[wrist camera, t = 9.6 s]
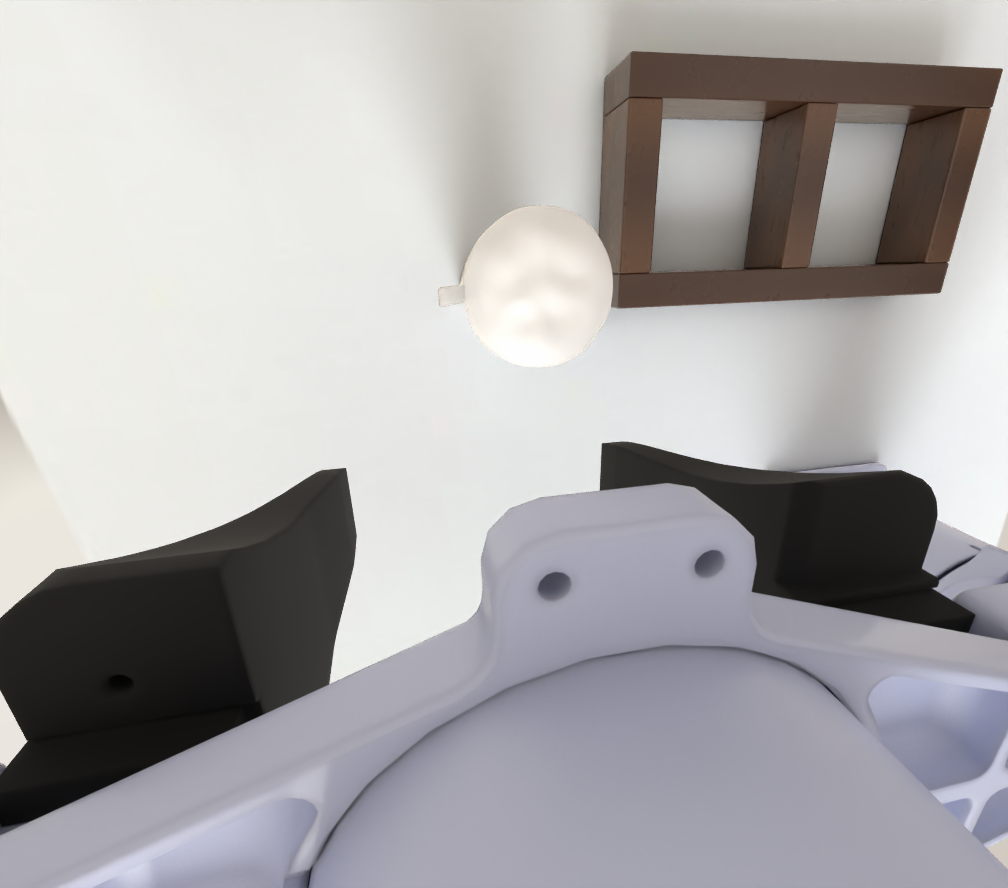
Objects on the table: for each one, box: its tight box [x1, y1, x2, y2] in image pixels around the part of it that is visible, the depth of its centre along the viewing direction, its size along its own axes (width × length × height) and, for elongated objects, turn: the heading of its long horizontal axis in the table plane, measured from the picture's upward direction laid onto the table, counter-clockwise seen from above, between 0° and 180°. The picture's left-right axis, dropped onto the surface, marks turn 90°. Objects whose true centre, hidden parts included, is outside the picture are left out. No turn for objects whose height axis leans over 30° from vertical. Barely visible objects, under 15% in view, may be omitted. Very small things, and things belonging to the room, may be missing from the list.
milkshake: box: [438, 206, 613, 367], centre depth 17 cm, size 4×5×10 cm
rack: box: [599, 51, 1003, 308], centre depth 21 cm, size 9×17×3 cm, turn 92°
